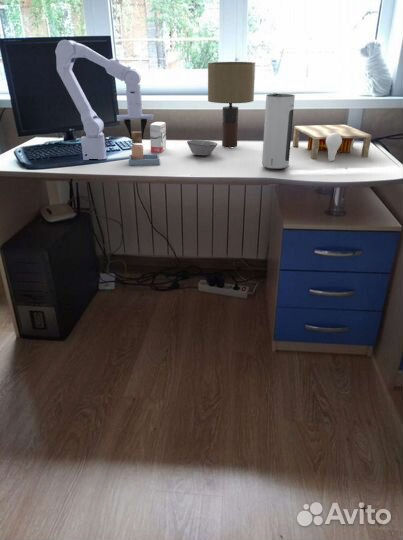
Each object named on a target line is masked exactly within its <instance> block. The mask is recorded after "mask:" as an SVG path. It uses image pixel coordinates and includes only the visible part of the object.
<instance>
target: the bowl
mask: <svg viewBox="0 0 403 540" xmlns="http://www.w3.org/2000/svg"><path fill="white" fill-rule="evenodd" d="M186 144H187V145H188V147H189V149H190V152H191V153H192V154H193V155H197V156H210V155H211V154H212V153H213V152H214V150H215V149H216V147H217V146H218V145H219V144H218V143H217V142H215V141H211V140H204V139H200V140H199V139H191V140H187V141H186Z"/></svg>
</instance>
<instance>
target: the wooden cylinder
mask: <svg viewBox="0 0 403 540" xmlns="http://www.w3.org/2000/svg"><path fill="white" fill-rule="evenodd" d="M130 149H131V155H132V160H140V159H144V155H145V153H144V145H143V144H135V145H134V144H133V145H130Z"/></svg>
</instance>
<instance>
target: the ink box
mask: <svg viewBox="0 0 403 540" xmlns="http://www.w3.org/2000/svg"><path fill="white" fill-rule="evenodd" d="M149 133H150V134H149V135H150V136H149V137H150V153H152V154H153V153H154V154H162V153H163V152H165V150H167V135H166V133H167V129H166V122H164V121H155V122H152V123H150V125H149Z"/></svg>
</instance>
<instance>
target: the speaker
mask: <svg viewBox="0 0 403 540" xmlns="http://www.w3.org/2000/svg"><path fill="white" fill-rule="evenodd" d="M295 97H296V95H295V94H291V93H278V92H277V93H276V92H274V93H268V94H266V96H265V108H264V109H265V110H264V112H265V113H264V126H263V128H264V129H263V143H262V159H261V160H262V161H261V165H262V167H264V168H267V169H274V170H277V169H278V170H279V169H280V170H281V169H285V168H288V167H289V165H290V156H291V155H290V153H291V145H292V144H291V143H292V142H291V141H292V131H293V120H294V109H295Z"/></svg>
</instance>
